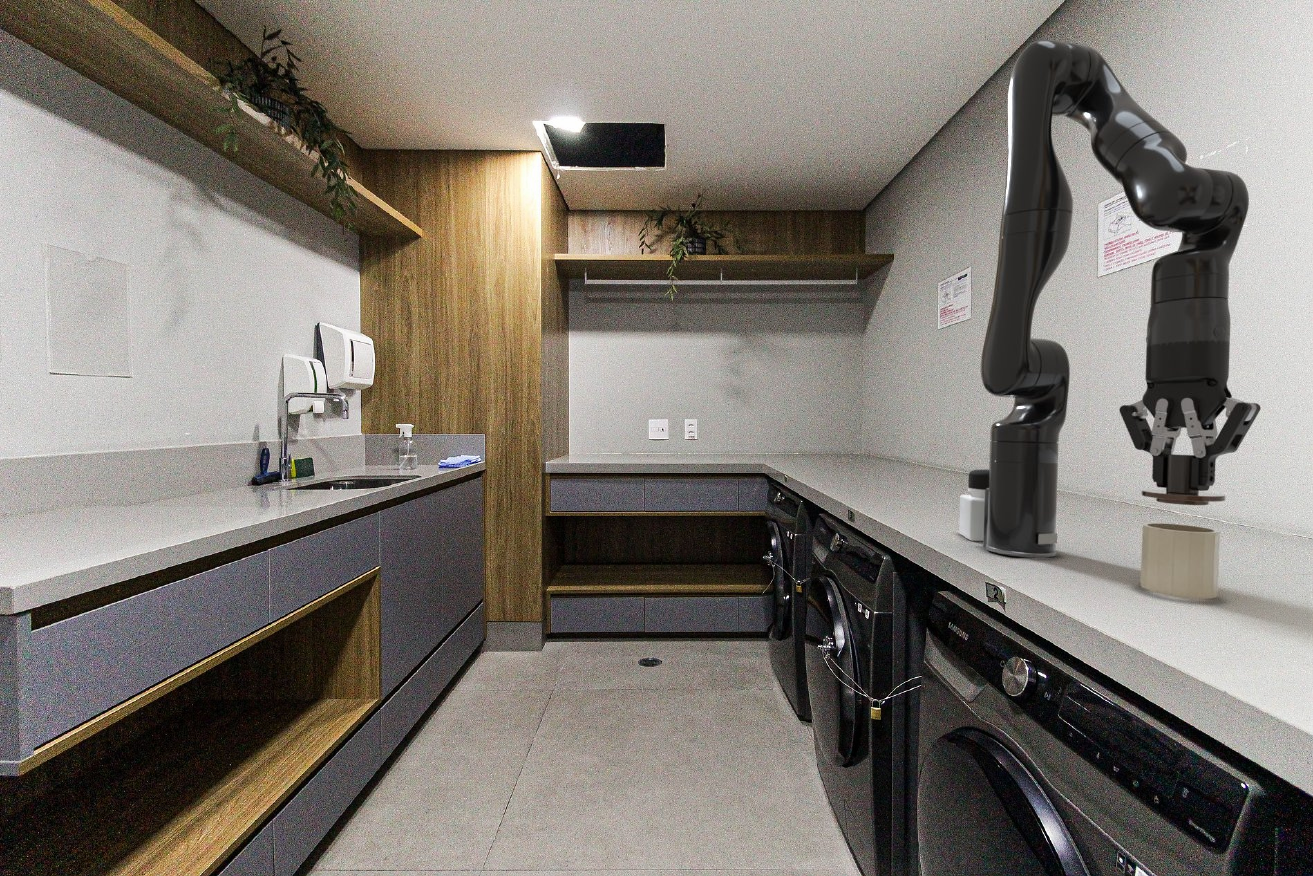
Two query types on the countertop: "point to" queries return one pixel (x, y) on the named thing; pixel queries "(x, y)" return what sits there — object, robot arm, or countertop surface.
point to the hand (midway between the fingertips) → (1181, 488)
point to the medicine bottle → (974, 506)
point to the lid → (1181, 484)
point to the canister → (1180, 560)
